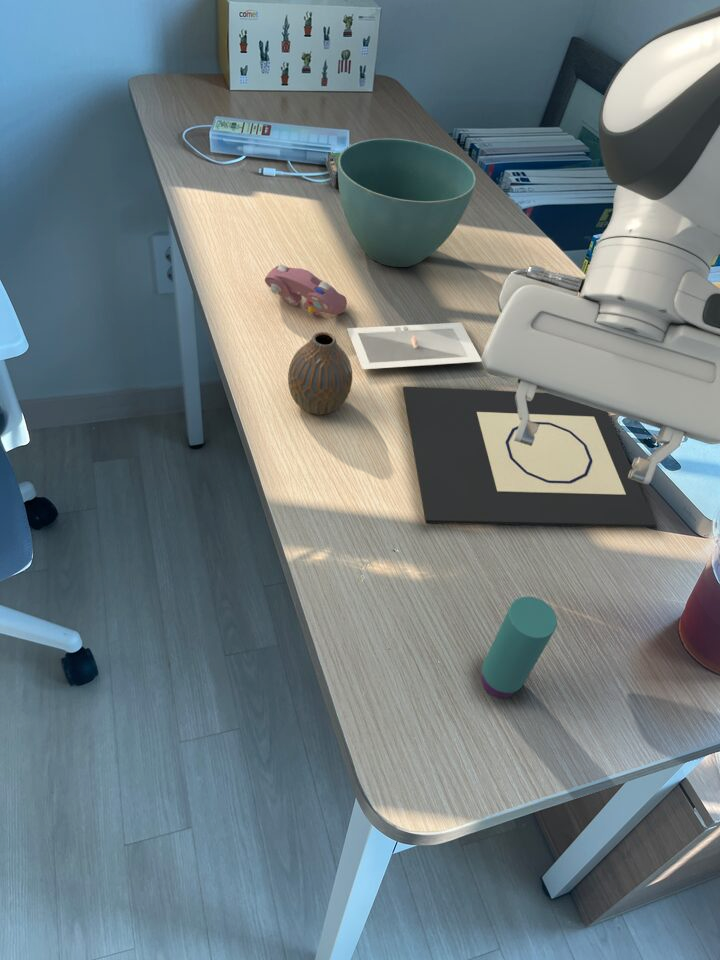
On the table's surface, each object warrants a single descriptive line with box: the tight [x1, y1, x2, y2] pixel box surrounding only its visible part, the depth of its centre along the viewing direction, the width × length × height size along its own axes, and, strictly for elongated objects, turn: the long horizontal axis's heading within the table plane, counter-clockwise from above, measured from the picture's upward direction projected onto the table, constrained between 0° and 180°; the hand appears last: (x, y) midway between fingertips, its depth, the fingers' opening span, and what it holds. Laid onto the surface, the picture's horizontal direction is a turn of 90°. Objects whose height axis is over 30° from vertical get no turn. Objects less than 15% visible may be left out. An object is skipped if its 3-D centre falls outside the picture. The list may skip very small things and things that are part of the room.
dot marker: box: [481, 596, 558, 699], centre depth 60 cm, size 4×4×10 cm
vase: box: [287, 331, 353, 415], centre depth 81 cm, size 7×7×9 cm
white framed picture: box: [346, 322, 482, 370], centre depth 92 cm, size 8×15×2 cm, turn 104°
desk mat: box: [402, 386, 657, 528], centre depth 82 cm, size 24×20×1 cm
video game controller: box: [264, 263, 348, 316], centre depth 94 cm, size 10×5×7 cm, turn 62°
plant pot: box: [338, 138, 477, 268], centre depth 103 cm, size 18×18×12 cm
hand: (579, 462), depth 60 cm, fingers open, 8 cm apart
